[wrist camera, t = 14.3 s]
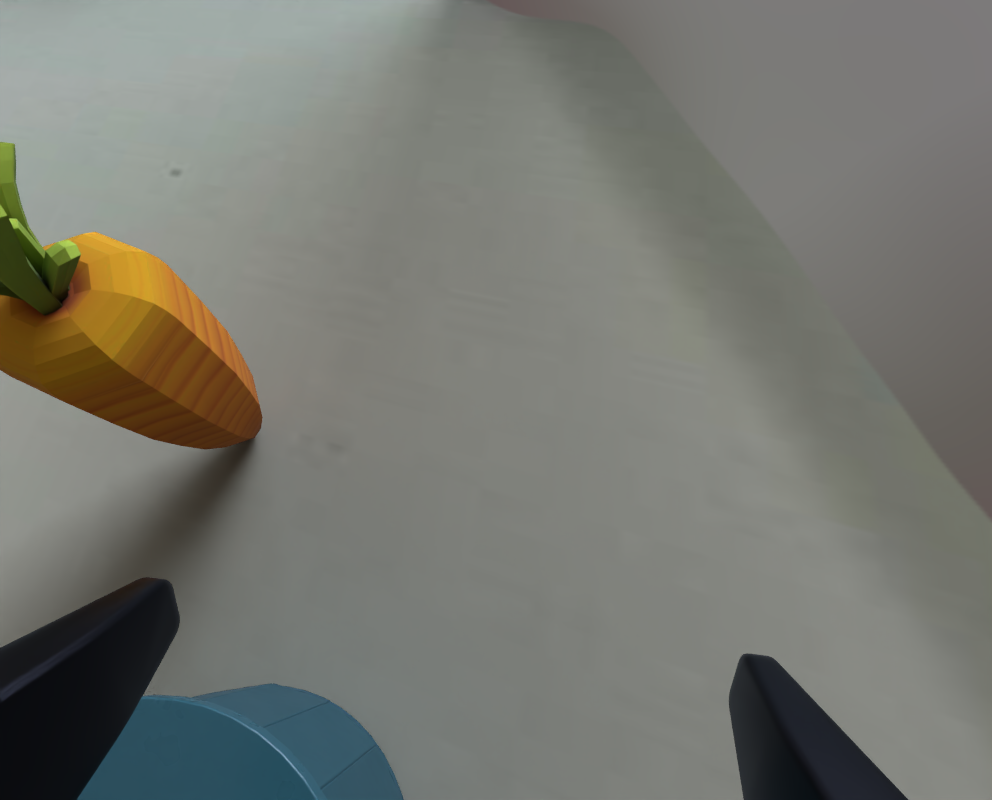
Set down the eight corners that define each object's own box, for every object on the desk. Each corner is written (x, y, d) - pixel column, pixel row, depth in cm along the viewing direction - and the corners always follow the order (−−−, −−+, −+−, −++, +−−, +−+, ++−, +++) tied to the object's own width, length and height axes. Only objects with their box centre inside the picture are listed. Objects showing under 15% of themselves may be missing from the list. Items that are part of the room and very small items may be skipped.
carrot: (175, 430, 25) (-262, 189, 11) (266, 359, 26) (-30, 59, 12) (236, 511, 24) (-182, 348, 10) (330, 432, 25) (75, 184, 11)
